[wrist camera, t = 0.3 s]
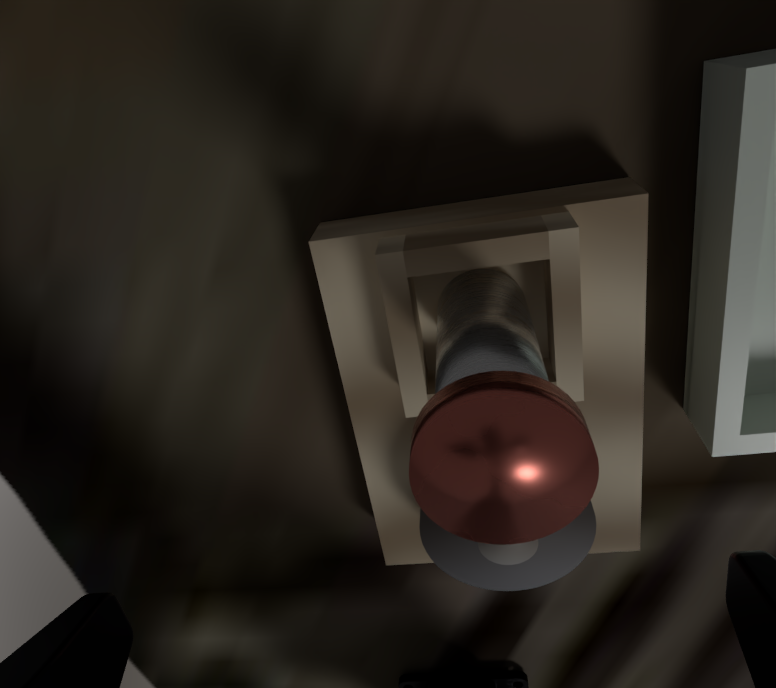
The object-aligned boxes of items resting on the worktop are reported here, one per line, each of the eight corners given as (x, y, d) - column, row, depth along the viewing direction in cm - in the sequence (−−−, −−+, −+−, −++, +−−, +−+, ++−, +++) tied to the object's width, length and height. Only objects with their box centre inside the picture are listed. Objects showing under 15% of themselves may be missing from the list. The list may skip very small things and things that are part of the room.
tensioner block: (626, 513, 25) (661, 607, 21) (390, 529, 27) (380, 620, 23) (629, 177, 19) (679, 220, 15) (320, 222, 21) (289, 273, 17)
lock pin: (545, 355, 20) (600, 539, 13) (430, 367, 21) (422, 549, 14) (539, 245, 18) (597, 387, 11) (413, 261, 19) (394, 408, 12)
